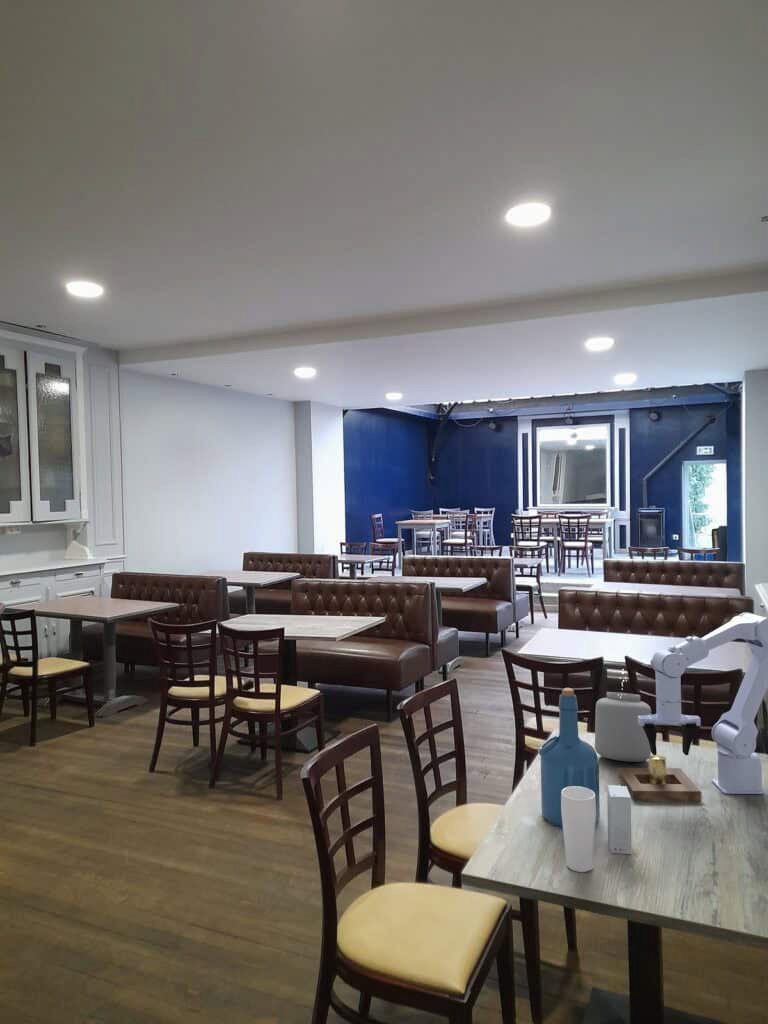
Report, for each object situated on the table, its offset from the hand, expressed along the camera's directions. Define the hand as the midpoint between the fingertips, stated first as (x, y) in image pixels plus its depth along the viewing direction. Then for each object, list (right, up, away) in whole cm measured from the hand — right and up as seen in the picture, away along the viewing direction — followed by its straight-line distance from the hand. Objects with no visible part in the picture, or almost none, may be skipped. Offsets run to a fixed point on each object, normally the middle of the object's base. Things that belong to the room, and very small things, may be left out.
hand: (669, 753), depth 171 cm
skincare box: (-21, -11, -25) cm, 35 cm away
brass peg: (-2, -10, +2) cm, 10 cm away
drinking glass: (-32, -12, -32) cm, 47 cm away
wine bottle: (-28, -11, -12) cm, 32 cm away
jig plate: (-2, -10, +3) cm, 10 cm away
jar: (-3, -10, +23) cm, 25 cm away
